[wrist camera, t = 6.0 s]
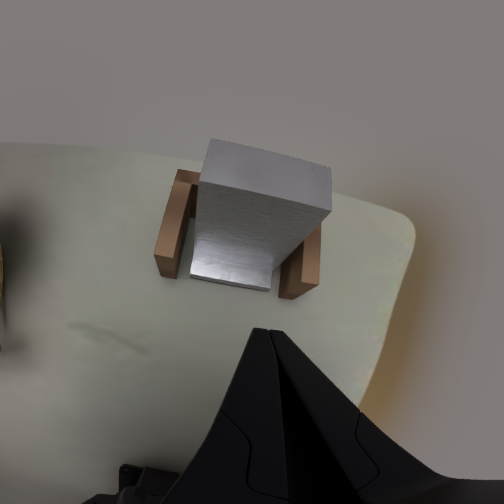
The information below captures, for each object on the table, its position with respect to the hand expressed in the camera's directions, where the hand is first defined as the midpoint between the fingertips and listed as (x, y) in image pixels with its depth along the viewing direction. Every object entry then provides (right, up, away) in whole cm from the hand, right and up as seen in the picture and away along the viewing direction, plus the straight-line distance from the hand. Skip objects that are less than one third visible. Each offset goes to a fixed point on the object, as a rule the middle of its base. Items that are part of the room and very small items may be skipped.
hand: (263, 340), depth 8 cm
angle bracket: (-2, +2, +15) cm, 15 cm away
